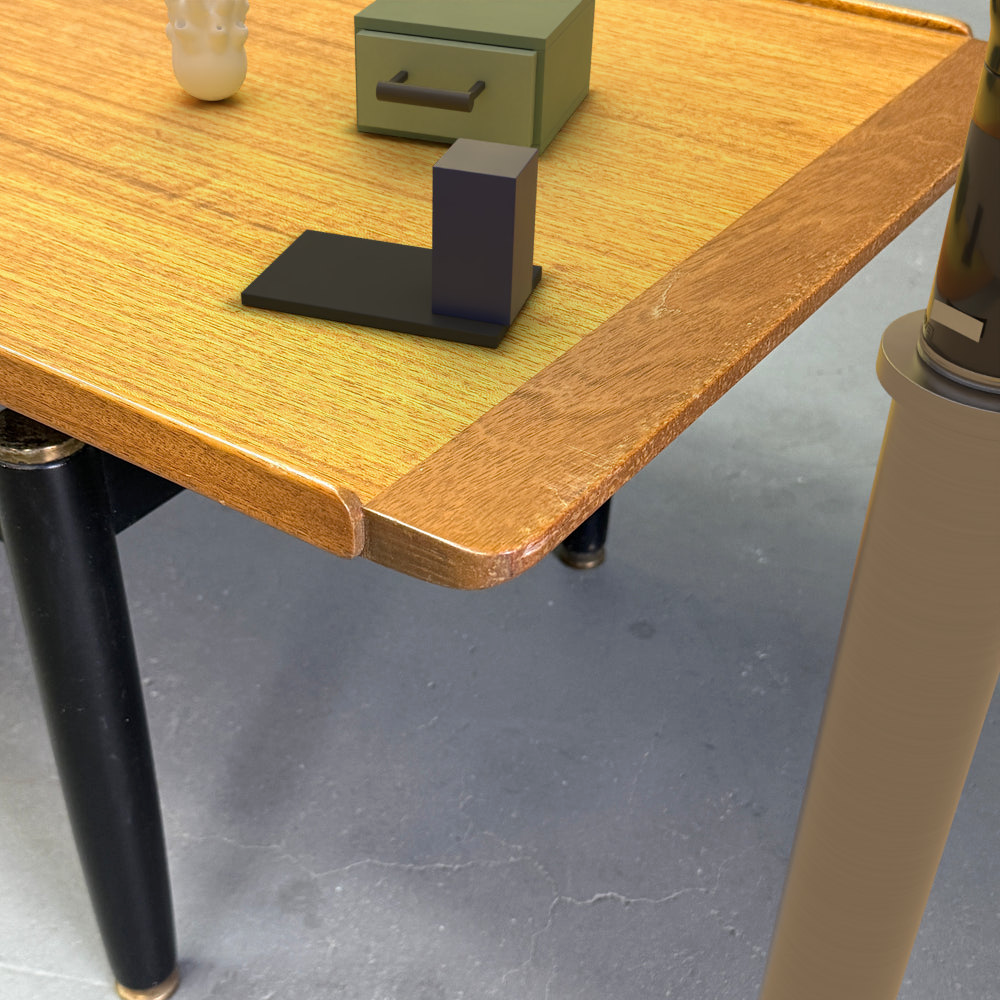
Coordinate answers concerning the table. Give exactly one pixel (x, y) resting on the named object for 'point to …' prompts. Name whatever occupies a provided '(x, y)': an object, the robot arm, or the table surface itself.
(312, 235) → the mat
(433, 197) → the navy box
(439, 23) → the cabinet
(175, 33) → the figurine
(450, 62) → the drawer
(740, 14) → the table surface
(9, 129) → the table surface
